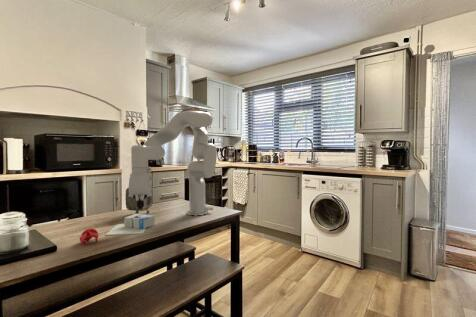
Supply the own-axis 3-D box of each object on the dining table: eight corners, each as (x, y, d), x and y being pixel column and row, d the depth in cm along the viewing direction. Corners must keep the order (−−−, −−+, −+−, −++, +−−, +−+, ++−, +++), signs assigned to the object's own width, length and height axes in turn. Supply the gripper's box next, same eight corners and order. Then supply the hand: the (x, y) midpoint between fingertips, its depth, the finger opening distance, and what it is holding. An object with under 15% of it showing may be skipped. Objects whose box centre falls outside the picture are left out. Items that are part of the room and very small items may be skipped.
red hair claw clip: (102, 235, 106) (100, 225, 110) (87, 234, 102) (85, 223, 106) (93, 249, 108) (91, 238, 112) (77, 248, 103) (76, 237, 107)
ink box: (143, 219, 122) (123, 217, 126) (143, 229, 122) (123, 227, 126) (154, 214, 130) (135, 213, 134) (154, 224, 130) (136, 222, 134)
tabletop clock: (139, 218, 143) (138, 174, 142) (124, 218, 144) (123, 174, 143) (152, 212, 157) (151, 171, 156) (138, 211, 159) (138, 171, 158)
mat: (149, 223, 133) (149, 223, 133) (142, 233, 117) (142, 233, 117) (117, 225, 131) (117, 224, 131) (105, 235, 115) (105, 234, 115)
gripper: (157, 170, 129) (157, 206, 129) (126, 170, 126) (126, 207, 127) (154, 171, 121) (155, 209, 122) (121, 171, 119) (122, 210, 120)
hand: (140, 208), depth 125 cm, fingers closed
